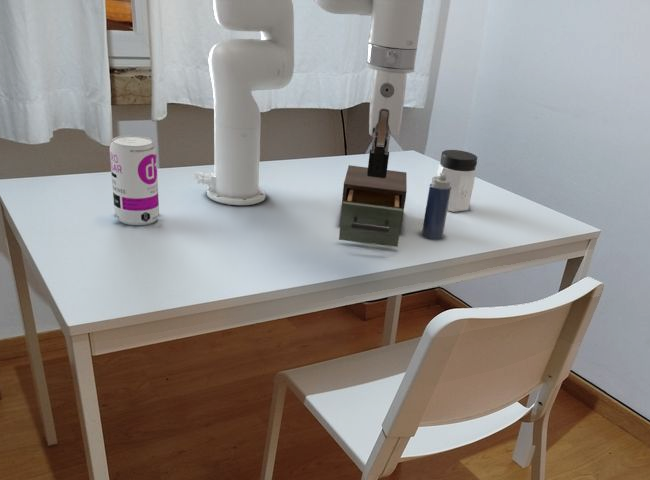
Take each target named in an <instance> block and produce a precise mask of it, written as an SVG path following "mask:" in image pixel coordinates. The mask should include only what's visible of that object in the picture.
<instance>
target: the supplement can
mask: <svg viewBox="0 0 650 480" xmlns="http://www.w3.org/2000/svg"><path fill="white" fill-rule="evenodd" d="M111 141H112V142H111V143H110V145H109V160H110V162H109V163H110V171H111V184H112V185H111V186H112V198H113V209H114V217H115V218H116V219H117V220H118V221H119V222H120V223H122V224H125V225H129V226H146V225H151V224H153V223H155V222H156V221H157V220H158V219H159V218H160V203H159V181H158V160H157V148H156V146H155V144H154V143H153V140H152V139H151V138H149V137H147V136H141V135H120V136H115V137H113V138H112V140H111Z"/></svg>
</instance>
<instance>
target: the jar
mask: <svg viewBox="0 0 650 480" xmlns="http://www.w3.org/2000/svg"><path fill="white" fill-rule="evenodd" d="M477 165H478V156H477V155H475V154H474V153H472V152H469V151H464V150H459V149H446V150H443V151H441V156H440V161H439V162H438V165H437V173H436V177H437V176H439V174H440V173H445V174H446V178H449V179H450V180H451V188H452V189H451V194H450V200H449V205H448V211H447V212H452V213H457V212H463V211H464V212H465V211H468V210H469V209H470V204H471V200H472V194H473V189H474V185H475V179H476V174H477V170H476V168H477Z"/></svg>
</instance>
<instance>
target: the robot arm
mask: <svg viewBox="0 0 650 480" xmlns="http://www.w3.org/2000/svg"><path fill="white" fill-rule="evenodd" d="M313 1H314V3H315V4H316V5H317V6H319V8H321V9H322V10H323V11H325V12H326V13H327V12H328V13H330V14H334V15H359V16H370V25H369V33H368V44H367V52H366V63H365V66H366V67H367V68H369V69H371V70H372V80H371V86H370V87H371V89H370V97H369V98H370V99H369V114H368V116H369V117H368V134H369V135H370V136H371V137H372V141H371V142H372V143H371V149H369V153H368V154H369V155H368V163H367V168H368V171H367V175H368V176H370V177H378V178H386V174H387V170H388V166H389V160H390V159H389V158H390V151H389V147H390V140H391V137H394V140H398V139H399V138H400V134H401V126H402V119H403V112H404V104H405V99H406V98H405V97H406V90H407V88H406V87H407V78H408V77H407V76H408V74H410V73H414V72H415V66H416V62H417V61H416V60H417V53H418V45H419V39H420V38H419V37H420V31H421V24H422V17H423V9H424V3H425V0H313ZM212 3H213V4H212V5H213V13H214V17H215V20H216V22H217V24H218V25H219V27H221V28H223V29H225V30H227V31H234V32H254V33H255V32H260V37H261V38H259V39H258V38H228V39H224V40H221V41H219V42H217V43H215V44H214V45H213V47H212V48H211V50H210V51H209V55H208V66H209V67H208V68H209V75H210V79H211V86H212V93H213V94H212V95H213V123H214V124H213V126H214V127H213V129H214V130H213V134H214V135H213V137H214V139H213V140H214V141H213V143H214V144H213V145H214V146H213V148H214V149H213V152H214V153H213V154H214V156H213V157H214V159H213V161H214V166H213V171H214V172H209V173H205V172H200V171H196V172H195V173H194V181H195V182H197V184H198V185H208V187H207V189H206V195H207V197H208V198H209V199H210V200H212V201H214V202H216V203H219V204H225V205H231V206H250V205H256V204H260V203H262V202H263V201H264V200H265V199H266V195H267V194H266V193H267V192H266V191H265V189H263V188H262V187H260V163H261V162H260V160H261V159H260V157H261V130H262V129H261V127H262V115H261V109H260V107H259V105H258V103H257V101H256V100H255V98H254V96H253V93H252V92H256V91H268V90H269V91H271V90H280V89H284V88H285V87H287V86H288V85H289V84H290V83H291V81H292V79H293V76H294V71H295V14H294V13H295V12H294V4H293V0H212Z"/></svg>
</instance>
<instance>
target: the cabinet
mask: <svg viewBox="0 0 650 480" xmlns="http://www.w3.org/2000/svg"><path fill="white" fill-rule="evenodd" d="M367 171H368V166H367V167H365V166H360V165H359V166H358V165H350V164H349V165H348V166H347V170H346V174H345V178H344V180H343V181H344V182H343V187H342V196H341V208H340V218H339V219H340V220H339V226H338V227H339V228H340V224H341V214H342V204H343V201H344V202H347V199H348V195H349V191H350V188H351V189H359V190H367V191H375V192H383V193H391V194H399V208H400V209H403V213H402V220H401V226H400V233H399V235H401V232H402V225H403V224H402V223H403V218H404V211H405V204H406V198H407V191H408V190H407V187H408V186H407V183H408V182H407V172H405V171H398V170H390V169H387V174H386V178H378V177H370V176H368V175H367Z"/></svg>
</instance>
